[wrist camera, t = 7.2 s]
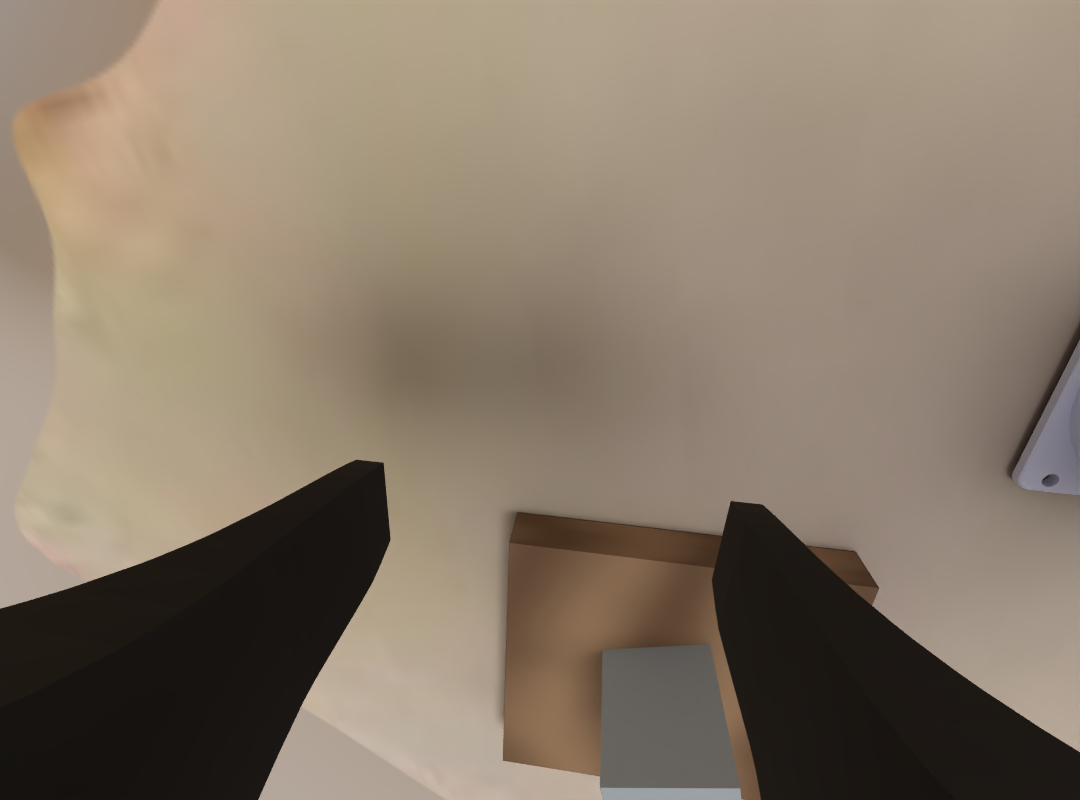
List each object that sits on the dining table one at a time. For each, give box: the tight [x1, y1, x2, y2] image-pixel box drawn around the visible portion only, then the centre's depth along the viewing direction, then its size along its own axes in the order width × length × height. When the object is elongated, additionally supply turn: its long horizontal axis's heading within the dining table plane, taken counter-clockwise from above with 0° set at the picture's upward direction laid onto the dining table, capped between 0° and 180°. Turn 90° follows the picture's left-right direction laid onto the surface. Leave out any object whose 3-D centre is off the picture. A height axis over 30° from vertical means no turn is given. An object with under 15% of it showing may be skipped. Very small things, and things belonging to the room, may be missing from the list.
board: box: [503, 513, 879, 800], centre depth 24 cm, size 14×14×2 cm
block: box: [600, 644, 741, 800], centre depth 20 cm, size 4×4×6 cm
